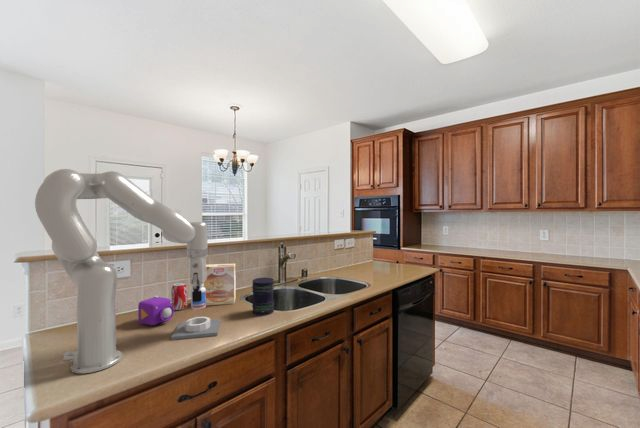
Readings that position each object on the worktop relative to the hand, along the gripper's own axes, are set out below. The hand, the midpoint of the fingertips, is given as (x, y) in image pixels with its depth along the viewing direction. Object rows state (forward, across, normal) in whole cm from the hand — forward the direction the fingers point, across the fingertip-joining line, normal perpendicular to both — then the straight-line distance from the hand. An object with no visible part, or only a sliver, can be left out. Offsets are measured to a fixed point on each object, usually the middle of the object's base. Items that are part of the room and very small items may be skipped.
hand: (198, 298), depth 115 cm
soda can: (+13, +29, +14) cm, 34 cm away
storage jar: (+13, +15, -26) cm, 32 cm away
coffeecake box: (+13, +34, -4) cm, 36 cm away
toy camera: (+13, +13, +18) cm, 26 cm away
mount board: (+13, 0, 0) cm, 13 cm away
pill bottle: (+4, 0, 0) cm, 4 cm away
